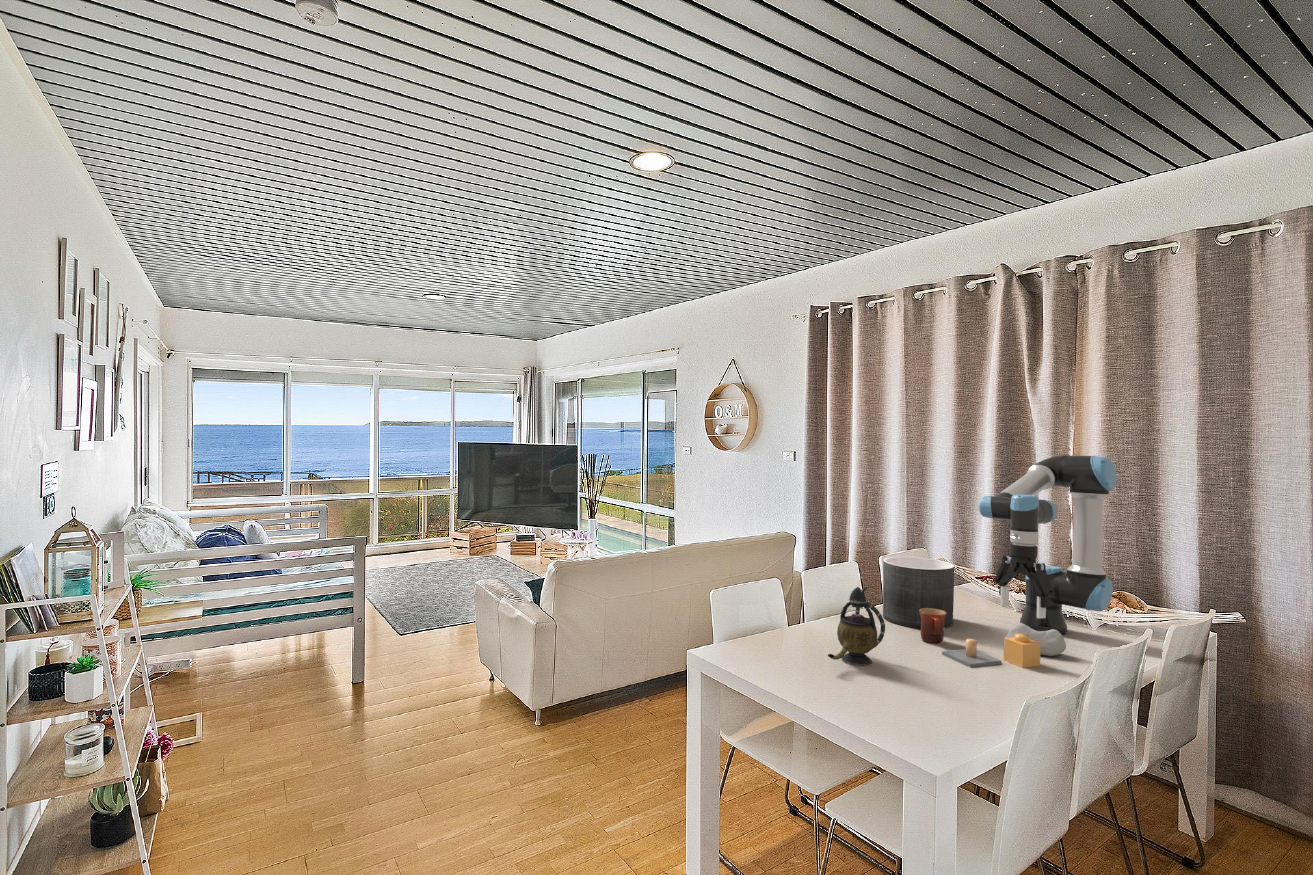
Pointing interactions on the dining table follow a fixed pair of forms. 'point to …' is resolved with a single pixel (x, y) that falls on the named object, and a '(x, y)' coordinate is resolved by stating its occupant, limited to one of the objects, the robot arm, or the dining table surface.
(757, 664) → the dining table surface
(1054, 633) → the decorative stone
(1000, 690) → the dining table surface
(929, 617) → the mug
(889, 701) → the dining table surface
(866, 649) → the teapot
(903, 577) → the planter
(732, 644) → the dining table surface
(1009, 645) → the orange cube with dome
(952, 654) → the plate
